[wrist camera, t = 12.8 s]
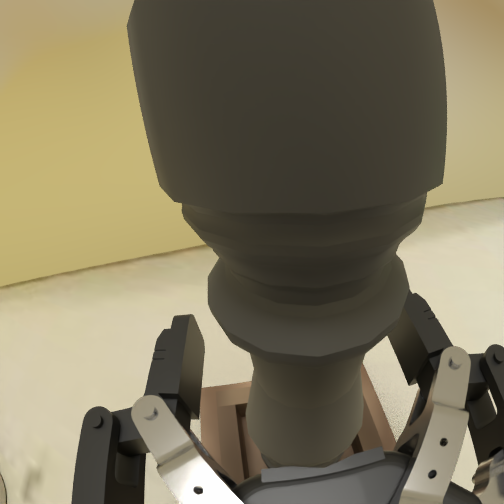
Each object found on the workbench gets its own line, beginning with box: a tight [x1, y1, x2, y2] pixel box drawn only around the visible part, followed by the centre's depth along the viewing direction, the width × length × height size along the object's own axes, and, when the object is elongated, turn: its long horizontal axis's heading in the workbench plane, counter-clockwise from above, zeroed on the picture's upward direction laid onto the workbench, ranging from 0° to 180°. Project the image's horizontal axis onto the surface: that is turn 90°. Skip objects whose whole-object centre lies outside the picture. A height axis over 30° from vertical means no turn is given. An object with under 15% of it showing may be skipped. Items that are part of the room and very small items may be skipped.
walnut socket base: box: [200, 363, 396, 484], centre depth 17 cm, size 16×16×4 cm
